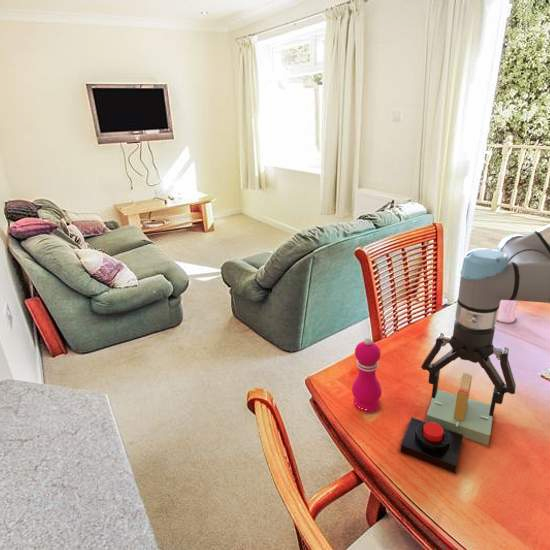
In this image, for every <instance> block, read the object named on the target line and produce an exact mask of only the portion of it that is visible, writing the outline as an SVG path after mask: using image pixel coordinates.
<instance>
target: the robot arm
mask: <svg viewBox="0 0 550 550" xmlns="http://www.w3.org/2000/svg"><path fill="white" fill-rule="evenodd" d="M461 266H462V267H461V271H460V278H459V287H458V297H457V302H456V308H455V309H456V310H455V315H454V316H455V320H454V325H453V332H452V336H446V335H445V334H444V333H443V332H439V333H438V334H437V337H436V340H435V344H434V345H433V347H432V348H431V349H430V350H429V353H428V354H427V356H425V359H424V360H423V361H422V364H421V367H420V369H422V370H423V371H427V372H428V381H427V382H428V384H430V385H432V389H431V399H432V398H435V397H436V394H437V390H438V389H439V382H440V373H441V370H442V369H443V368H445V367H446V366H447V365H449V364H450V363H452V362H453V361H456V360H457V359H460V360H461V361H469V362H471V363H474V364H477V363H478V364H479V366H480V367H481V369H483V370H484V372H485V373H486V375H487V376H488V378H489V379H490V381H491V383H492V385H493V386H494V387H493V392H492V397H491V402H490V405H491V406H490V412H489V416H492V417H493V418H494V414H495V413H494V412H495V409H496V404H498V405H502V404H503V401H504V395H505V394H510V395H515V394H516V385H517V384H516V381H515V378H514V374H513V372H512V367H511V364H510V361H509V351H510V350H509V348H508V347H505V346H503V347H502V348H499V347H496V346H494V344H493V342H494V337H495V333H496V332H495V331H496V325H497V321H498V320H497V316H498V311H499V306H500V301H501V300H511V301H512V300H515V301H519V302H531V303H544V304H550V223H549V224H547V225H545V226H543V227H540V228H539V229H537V230H535V231H533V232H531V233H529V234H527V235H524V234H513V235H512V234H511V235H509V236H507V237H504V238H503V239H502V240H500V242H499V244H498V245H497V248H496V249H491V248H484V247H481V248H474V249H471V250H469V251H467V252H466V254H465V255H464V257H463V262H462V265H461ZM448 344H449V346H450V347H451V349H450V350H449V351H448V352H447V353H445V354H444V355H443V356H441V357H440V358H439V359H438V360H436V361H435V362H434V363H433V361H434V360H435V358H436V356H438V354H439V352H440V351H441V348H442V347H446V346H447V345H448ZM492 355H495V357H496V359H497V360H498V361H499V365H500V368H501V372H502V376H503V378H504V380H503V378H502V377H501V375H500V373H499V372H498V371H497V369H496V367H495V365H494V364H493V363H492V361H491V358H490V356H492Z"/></svg>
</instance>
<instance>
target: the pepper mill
mask: <svg viewBox="0 0 550 550" xmlns="http://www.w3.org/2000/svg"><path fill="white" fill-rule="evenodd" d="M381 353H382V352H381V348H380V347H379V345H378V344H377V343H375V342H374V341H372V338H371V337H368V336H367V337H365V338H364V339H363V341H362V340H361V342H359V343H357V345H356V346H355V348H354V356H355V358H356V367H357V368H358V374H357V376H355V377H356V378H355V379H354V381H353V383H352V386H351V387H352V388H351V393H352V396H353V405H354V407H355V408H356V409H357V410H359V411H360V412H363V413H373V412H375V411H377V410H378V408H379V406H380V398H381V396H382V386H381V383H380V381H379V379H378V377H377V374H376V371H377V369H378V368H379V360H380V359H381ZM355 403H356V404H355ZM358 406H359V407H360V408H359V407H358ZM361 408H363V409H361ZM365 409H367V410H365Z"/></svg>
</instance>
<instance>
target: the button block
mask: <svg viewBox="0 0 550 550" xmlns="http://www.w3.org/2000/svg"><path fill="white" fill-rule="evenodd" d="M431 422H432V421H431ZM426 423H427V422H426V421H424V420H421V419H418V418H415V417H411V418H410V421H409V423H408V426H407V429H406V431H405V434H404V436H403V438H402V441H401V444H400V453H401V454H405V455H407V456H410V457H412V458H415V459H417V460H420V461H422V462H425V463H427V464H430V465H432V466H435V467H438V468H440V469H442V470H445V471H447V472H450V473H452V474H456V471H457V467H458V461H459V457H460V453H461V449H462V448H461V447H462V443H463V438H464V437H463V435H462V434H459V433H456V432H453V431H450V430H448V429H446V428H445V427H443V426H442V425H441V424H439V425H440V426H441V427H442V428H443V430H444V433H443V439H442V440H441V441H440V442H431V441H429V440H427V439H426V438H425V437H424V435H423V428H424V425H425V424H426ZM437 424H438V423H437Z"/></svg>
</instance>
